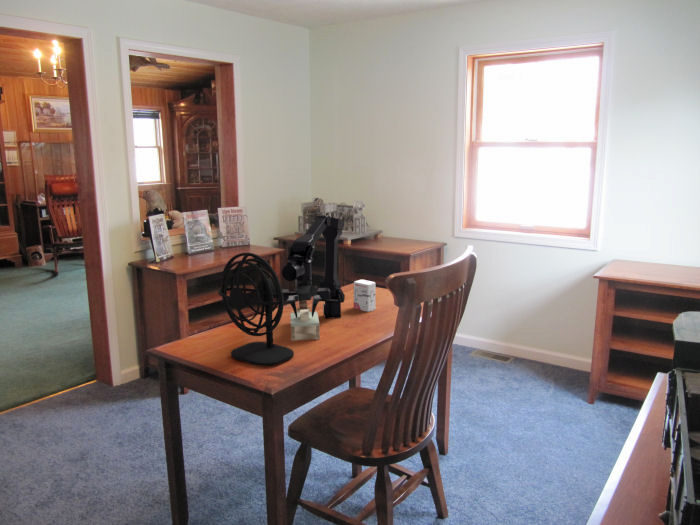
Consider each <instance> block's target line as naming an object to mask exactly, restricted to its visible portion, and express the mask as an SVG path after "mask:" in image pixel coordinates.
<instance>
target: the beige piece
mask: <svg viewBox="0 0 700 525" xmlns="http://www.w3.org/2000/svg"><path fill="white" fill-rule="evenodd" d="M310 307H311V306H310ZM310 307H308V306H307V309H308V311H309V312H311V308H310ZM296 309H297V313H299V312H300V309H299V307H296ZM320 329H321V328H320V325H319V326H297V327H291V326H290V339H291V340H290V341H308V340H310V339H312V340H320V339H321V338H320V336H321V335H320V333H321V332H320ZM310 341H311V340H310Z"/></svg>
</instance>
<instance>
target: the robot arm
mask: <svg viewBox="0 0 700 525" xmlns="http://www.w3.org/2000/svg"><path fill="white" fill-rule="evenodd" d="M344 225H345V224H344V221H343V220H342V219H341V217H332V216H330V215H328V214H317V215H316V216H315V220H313V222H312V224H310V226H309V227H308V229H306V232H305V233H304V234H303V235H301V236H298V237H297V238H296V239H294V241H293V242H292V244H291V246H290V249H289V252H288V256H287V259H286V260H287V261H286V265H284V266H283V268H282V271H281V274H282V278H283V279H284V280H285V281H286V282H293V281H295V291H289V289H288V288H287V289H285V288H283V289H282V292H283V298H284V302H285V301H286V303H289V304H290V306H291V308H292V310H293V313H295V316H296V318H297V304H296V298H297V300H298V302H299V301H302V300H307V301H311V300H312V304H311V312H312V317H313V315H314V312H316V309H317V306H318V304H319V303H320V302H324V303H323V305H322V306H323V307H322V308H323V309H322V313H323V316H324V318H325V319H337V318H338V319H341V318H342V313H341V312H342V303H344V302H345V299H346V295H345V293H344V292H343V289H342V287H341V285H342V284H341V282H340V280H339V278H338V250H339V249H338V248H339V246H338V245H339V243H338V242H339V239H340V237H341V236H342V235H343V230H344ZM321 236H322V237H323V238H324V241H325V243H324V245H325V246H324V247H325V248H324V277H323V279H322V280H321V281H320V282H319V287H318V286H317V285H312V283H313V281H312V262H313V261H314V258H313V255H314V252H315V250H316V243H317V241H318V240H319V238H320V237H321ZM278 301H279V300H278Z"/></svg>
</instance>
